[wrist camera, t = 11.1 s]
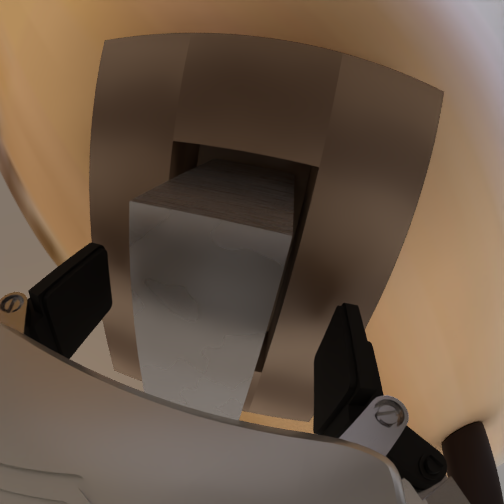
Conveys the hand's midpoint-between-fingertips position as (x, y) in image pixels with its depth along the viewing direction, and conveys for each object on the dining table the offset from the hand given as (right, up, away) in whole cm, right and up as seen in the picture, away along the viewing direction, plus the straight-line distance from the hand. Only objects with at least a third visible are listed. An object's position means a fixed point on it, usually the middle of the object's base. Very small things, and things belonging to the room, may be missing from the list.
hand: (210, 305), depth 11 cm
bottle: (+31, -23, +13) cm, 41 cm away
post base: (+1, +3, +6) cm, 6 cm away
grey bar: (+1, +2, +5) cm, 6 cm away
